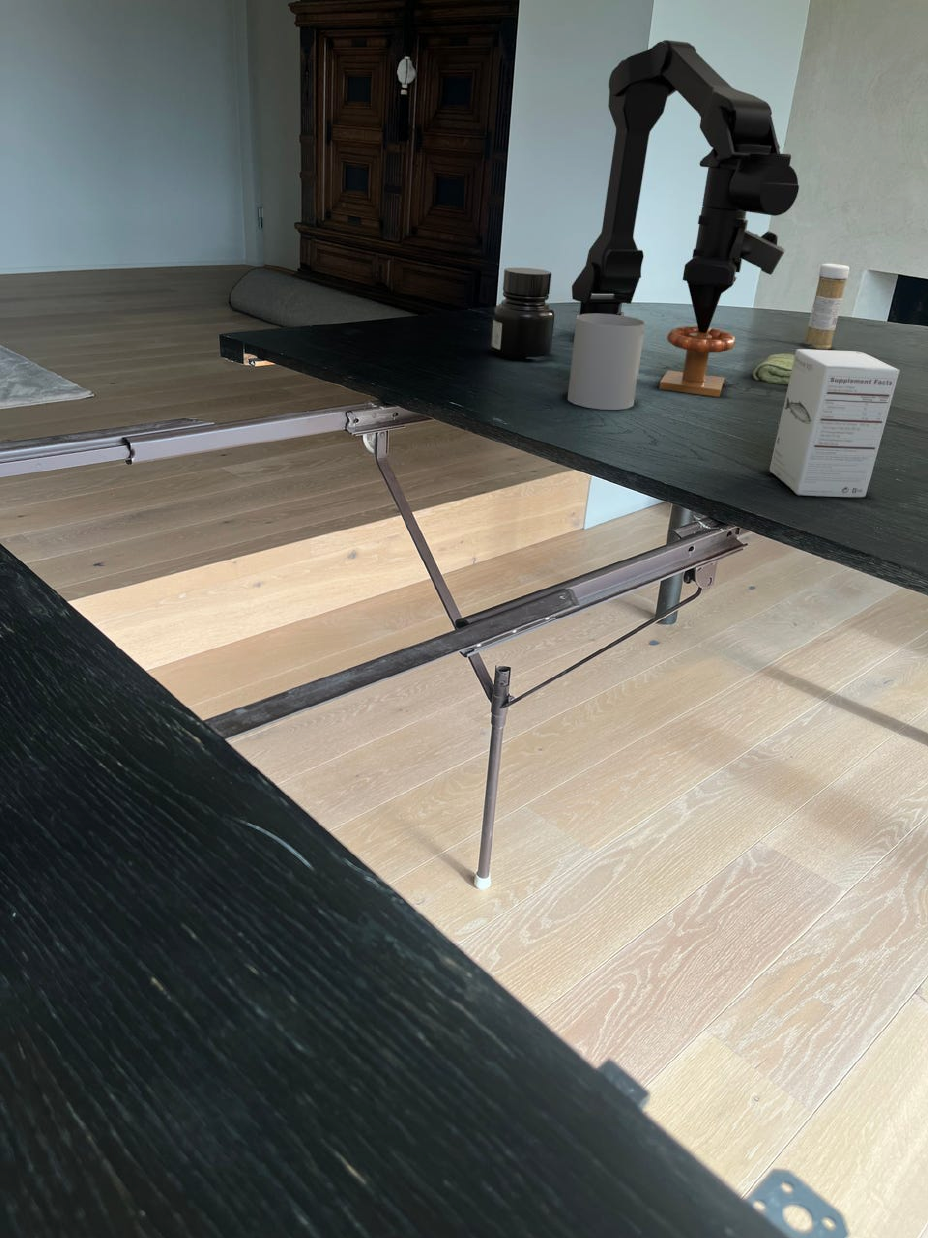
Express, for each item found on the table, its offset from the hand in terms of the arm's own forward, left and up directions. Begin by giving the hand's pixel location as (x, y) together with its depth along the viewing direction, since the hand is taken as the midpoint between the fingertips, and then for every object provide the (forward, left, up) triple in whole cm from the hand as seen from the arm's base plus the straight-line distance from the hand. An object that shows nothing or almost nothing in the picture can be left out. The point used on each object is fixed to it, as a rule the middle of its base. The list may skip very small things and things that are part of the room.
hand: (703, 331), depth 131 cm
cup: (-10, -19, -7) cm, 22 cm away
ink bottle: (-26, +2, -7) cm, 27 cm away
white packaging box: (+16, -41, -7) cm, 44 cm away
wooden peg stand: (0, -4, -7) cm, 8 cm away
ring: (0, -4, 0) cm, 4 cm away
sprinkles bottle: (+17, +39, -7) cm, 43 cm away
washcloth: (+17, +7, -7) cm, 20 cm away
